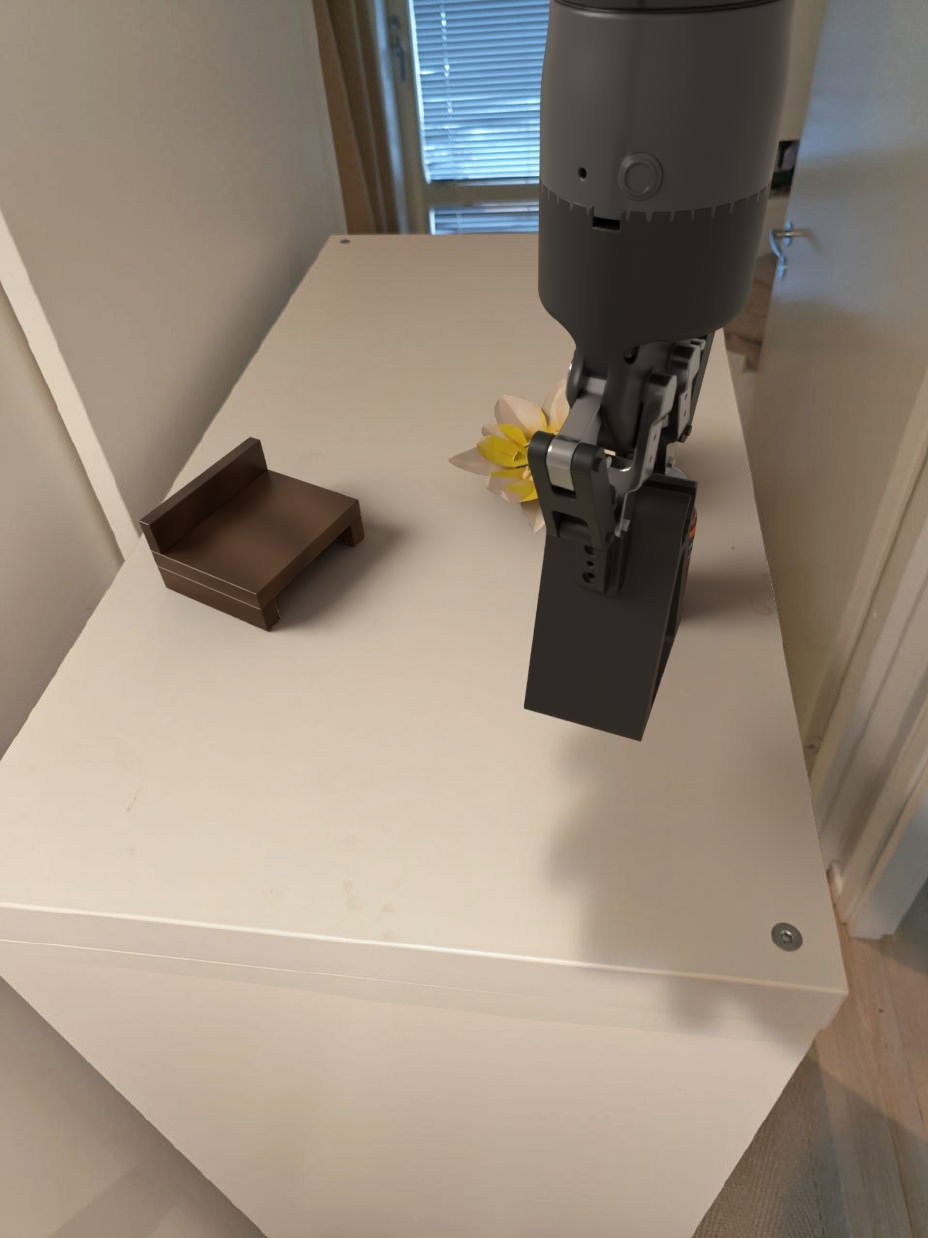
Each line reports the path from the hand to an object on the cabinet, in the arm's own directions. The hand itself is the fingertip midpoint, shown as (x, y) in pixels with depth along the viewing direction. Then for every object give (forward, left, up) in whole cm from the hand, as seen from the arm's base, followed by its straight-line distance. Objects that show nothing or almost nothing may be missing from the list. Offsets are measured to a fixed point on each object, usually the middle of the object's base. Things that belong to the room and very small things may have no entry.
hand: (615, 560), depth 40 cm
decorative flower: (+27, +18, -20) cm, 38 cm away
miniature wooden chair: (+8, +34, -20) cm, 40 cm away
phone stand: (0, 0, -7) cm, 7 cm away
